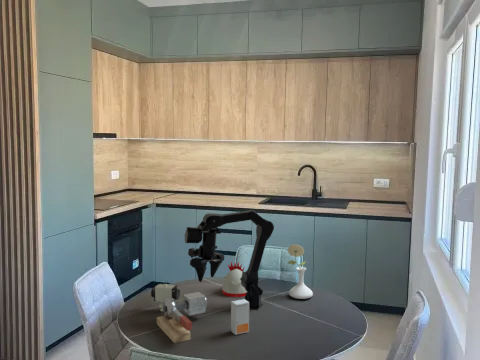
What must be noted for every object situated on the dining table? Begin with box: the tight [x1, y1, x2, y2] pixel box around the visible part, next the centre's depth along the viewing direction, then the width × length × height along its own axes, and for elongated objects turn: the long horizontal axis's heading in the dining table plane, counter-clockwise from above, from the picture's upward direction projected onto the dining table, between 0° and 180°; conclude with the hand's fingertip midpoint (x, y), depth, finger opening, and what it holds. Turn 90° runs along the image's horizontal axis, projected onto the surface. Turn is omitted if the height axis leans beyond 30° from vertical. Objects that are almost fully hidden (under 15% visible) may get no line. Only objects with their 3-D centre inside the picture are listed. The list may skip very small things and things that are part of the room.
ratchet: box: [163, 298, 193, 331], centre depth 174 cm, size 10×24×8 cm, turn 29°
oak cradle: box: [156, 315, 192, 344], centre depth 173 cm, size 7×20×5 cm, turn 29°
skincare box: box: [230, 298, 250, 336], centre depth 172 cm, size 6×4×12 cm
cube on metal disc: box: [182, 291, 208, 316], centre depth 185 cm, size 8×7×7 cm
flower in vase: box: [286, 243, 314, 300], centre depth 211 cm, size 13×11×25 cm
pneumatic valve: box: [150, 283, 181, 313], centre depth 194 cm, size 6×12×12 cm, turn 76°
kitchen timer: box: [221, 261, 247, 298], centre depth 217 cm, size 14×14×15 cm
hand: (206, 279), depth 191 cm, fingers open, 9 cm apart
